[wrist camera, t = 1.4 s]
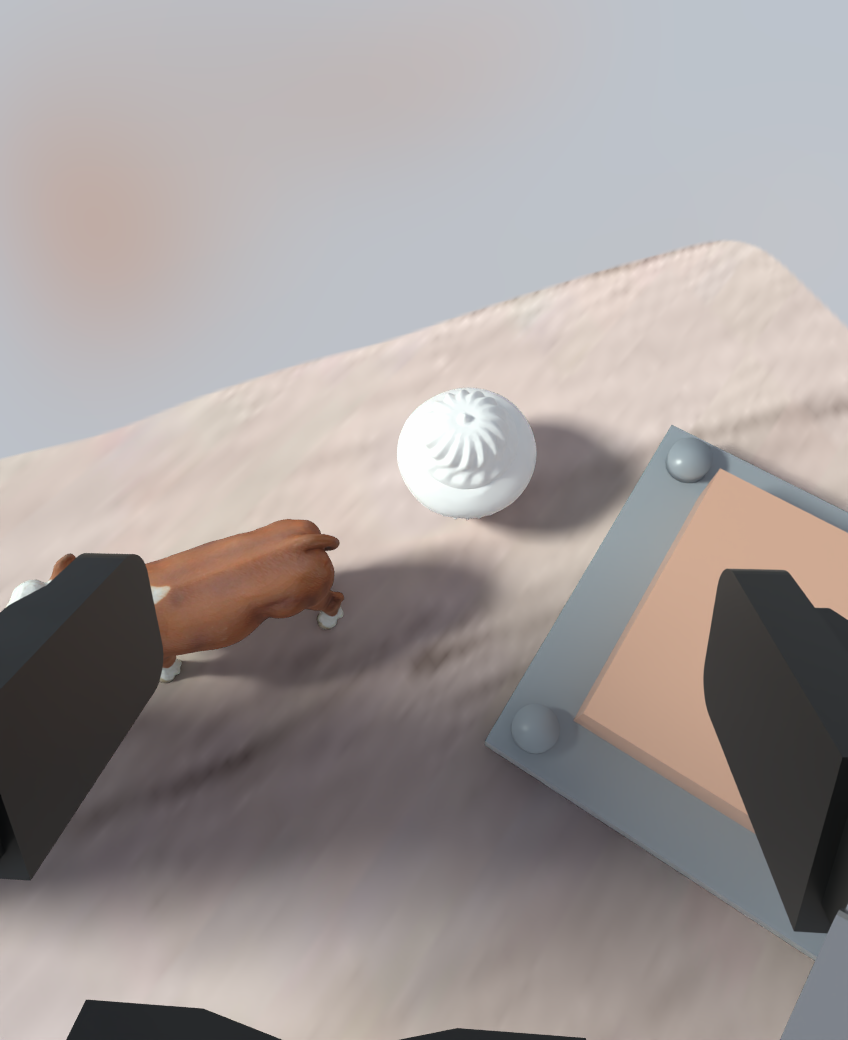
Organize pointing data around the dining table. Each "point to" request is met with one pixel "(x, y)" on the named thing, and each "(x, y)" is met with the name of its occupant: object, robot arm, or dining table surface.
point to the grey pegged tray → (670, 666)
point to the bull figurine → (234, 587)
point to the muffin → (466, 453)
